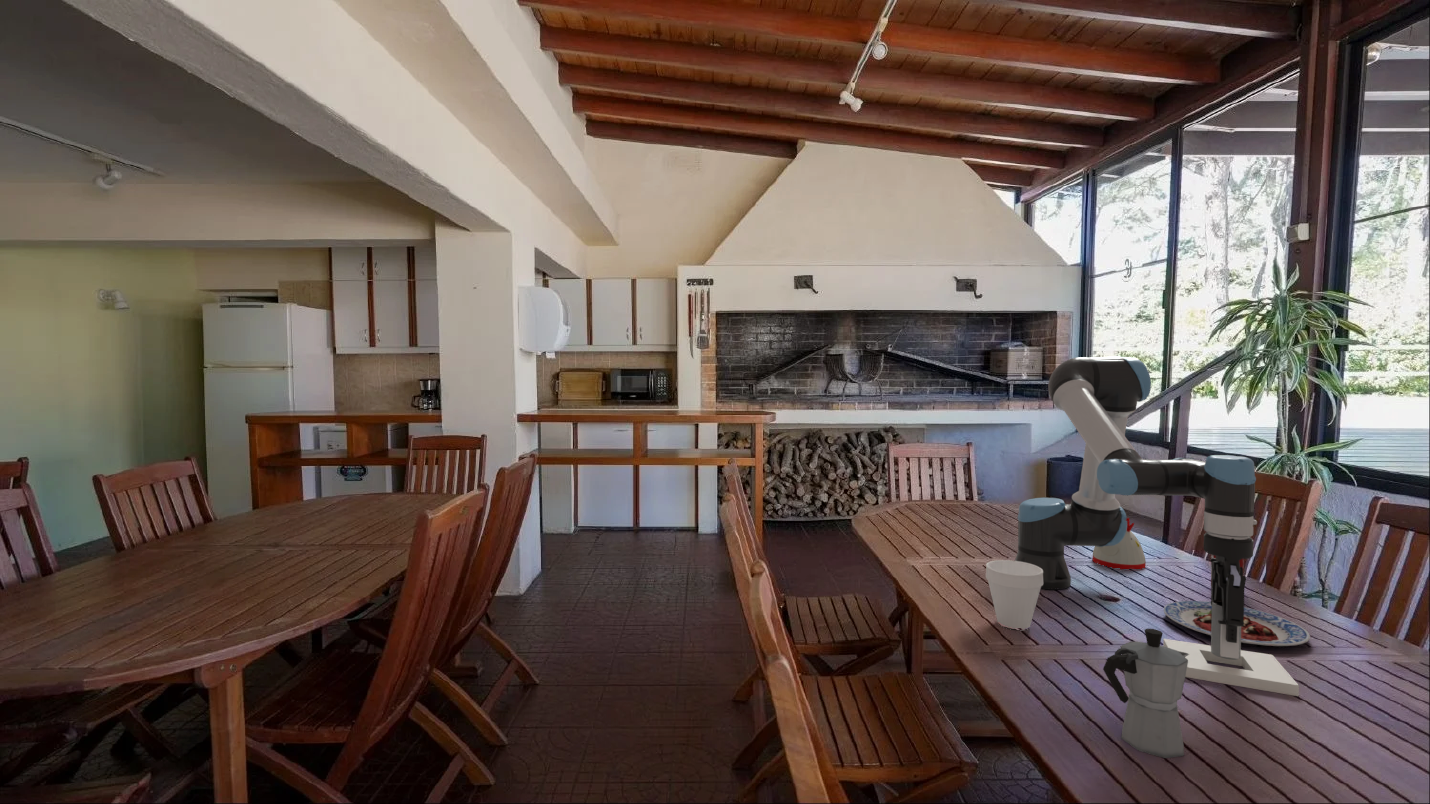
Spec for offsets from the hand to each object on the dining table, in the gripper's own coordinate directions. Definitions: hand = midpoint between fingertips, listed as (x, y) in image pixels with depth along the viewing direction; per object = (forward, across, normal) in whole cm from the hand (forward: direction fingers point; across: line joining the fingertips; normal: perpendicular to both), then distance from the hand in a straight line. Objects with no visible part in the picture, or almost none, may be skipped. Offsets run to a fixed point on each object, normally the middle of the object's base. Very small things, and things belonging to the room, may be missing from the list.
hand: (1225, 651), depth 123 cm
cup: (+4, +7, +38) cm, 39 cm away
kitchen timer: (+4, +75, +10) cm, 76 cm away
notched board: (+4, 0, 0) cm, 4 cm away
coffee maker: (+4, -36, +18) cm, 41 cm away
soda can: (+4, +58, -13) cm, 60 cm away
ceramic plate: (+4, +26, -7) cm, 27 cm away
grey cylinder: (+1, 0, 0) cm, 1 cm away
